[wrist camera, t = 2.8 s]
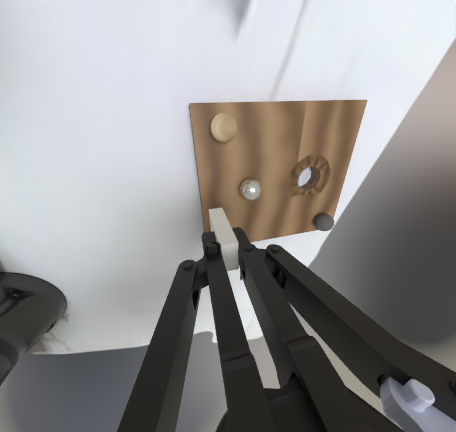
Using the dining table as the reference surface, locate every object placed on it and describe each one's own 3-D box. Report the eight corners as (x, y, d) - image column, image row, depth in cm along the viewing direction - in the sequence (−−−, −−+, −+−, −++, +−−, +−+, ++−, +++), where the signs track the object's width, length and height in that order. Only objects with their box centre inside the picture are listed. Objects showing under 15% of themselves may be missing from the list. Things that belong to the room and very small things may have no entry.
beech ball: (210, 142, 24) (214, 144, 21) (207, 114, 23) (211, 112, 20) (233, 140, 25) (240, 142, 22) (232, 113, 23) (240, 111, 20)
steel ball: (237, 197, 29) (244, 205, 26) (237, 177, 28) (244, 183, 25) (256, 194, 30) (264, 202, 27) (257, 175, 28) (266, 180, 25)
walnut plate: (206, 242, 35) (207, 250, 33) (188, 105, 24) (189, 103, 22) (322, 222, 40) (330, 227, 38) (353, 101, 29) (367, 99, 27)
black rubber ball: (309, 226, 37) (320, 235, 34) (312, 212, 35) (324, 220, 32) (323, 224, 37) (335, 232, 34) (327, 210, 36) (340, 217, 33)
